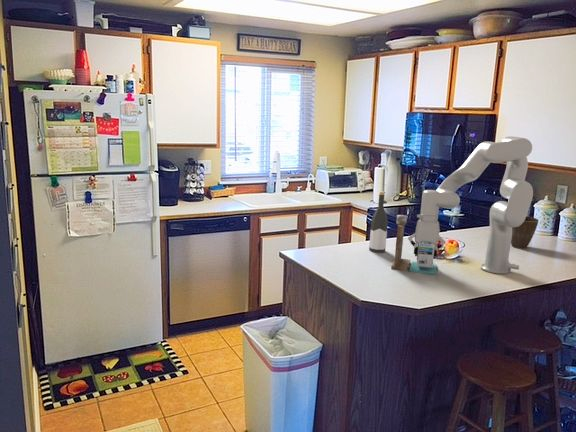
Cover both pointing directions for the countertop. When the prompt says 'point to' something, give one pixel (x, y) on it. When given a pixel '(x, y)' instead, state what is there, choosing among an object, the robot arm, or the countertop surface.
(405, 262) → the wooden stand
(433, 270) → the mat
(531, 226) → the plant pot
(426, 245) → the light bulb box
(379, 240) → the wine bottle
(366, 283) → the countertop surface
